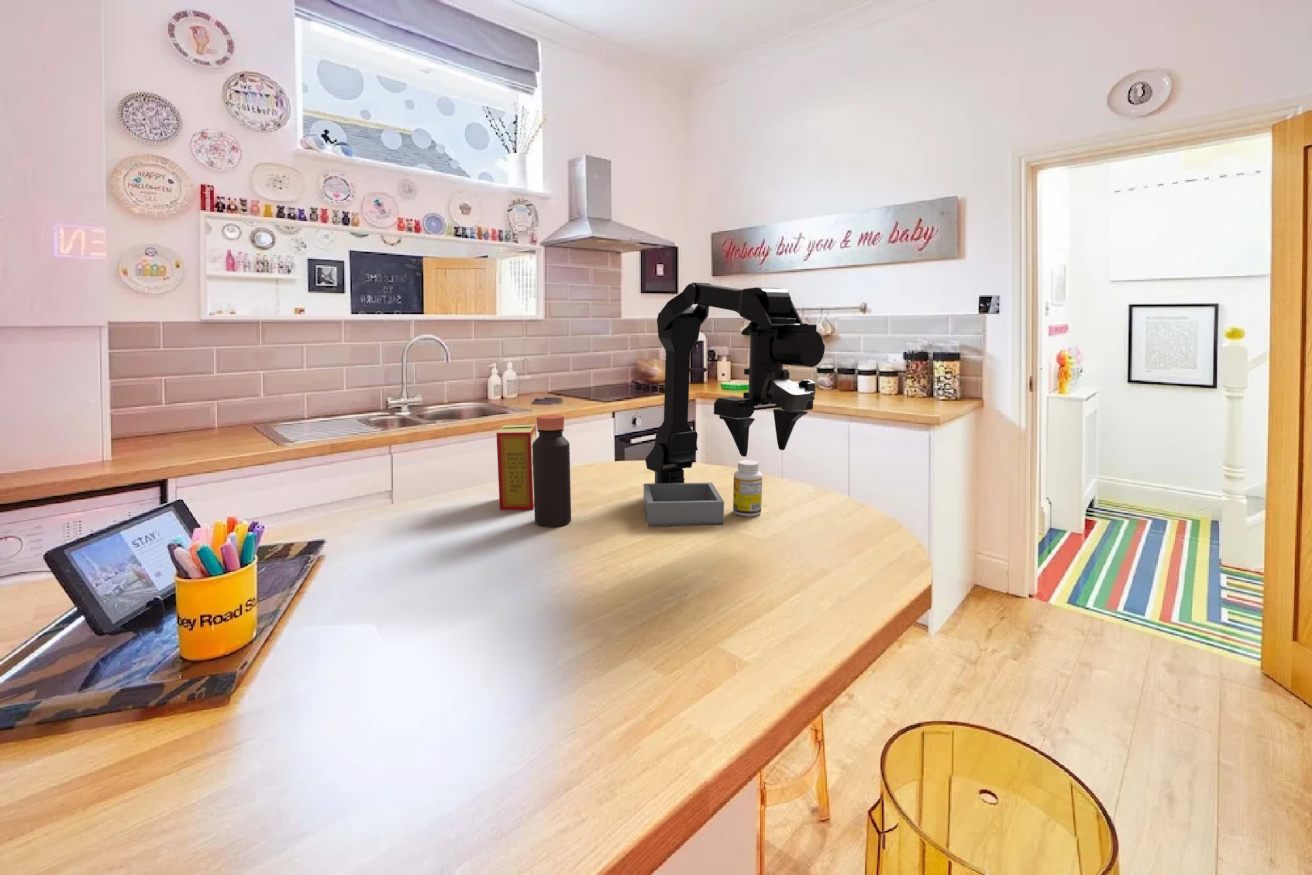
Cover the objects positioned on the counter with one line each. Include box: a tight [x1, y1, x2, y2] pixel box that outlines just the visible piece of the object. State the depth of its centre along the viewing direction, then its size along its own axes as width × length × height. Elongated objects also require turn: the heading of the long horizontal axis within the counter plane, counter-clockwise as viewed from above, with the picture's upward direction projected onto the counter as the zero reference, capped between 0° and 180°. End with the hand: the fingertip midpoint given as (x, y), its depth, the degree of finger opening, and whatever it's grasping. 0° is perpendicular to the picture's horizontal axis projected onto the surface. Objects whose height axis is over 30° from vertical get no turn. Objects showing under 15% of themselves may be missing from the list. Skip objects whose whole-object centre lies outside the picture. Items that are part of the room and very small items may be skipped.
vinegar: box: [532, 414, 572, 528], centre depth 120 cm, size 7×7×20 cm
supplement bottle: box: [732, 459, 764, 518], centre depth 127 cm, size 6×6×10 cm
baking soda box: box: [496, 424, 537, 511], centre depth 133 cm, size 10×6×16 cm
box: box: [643, 482, 725, 528], centre depth 126 cm, size 14×14×4 cm
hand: (763, 452), depth 114 cm, fingers open, 9 cm apart
